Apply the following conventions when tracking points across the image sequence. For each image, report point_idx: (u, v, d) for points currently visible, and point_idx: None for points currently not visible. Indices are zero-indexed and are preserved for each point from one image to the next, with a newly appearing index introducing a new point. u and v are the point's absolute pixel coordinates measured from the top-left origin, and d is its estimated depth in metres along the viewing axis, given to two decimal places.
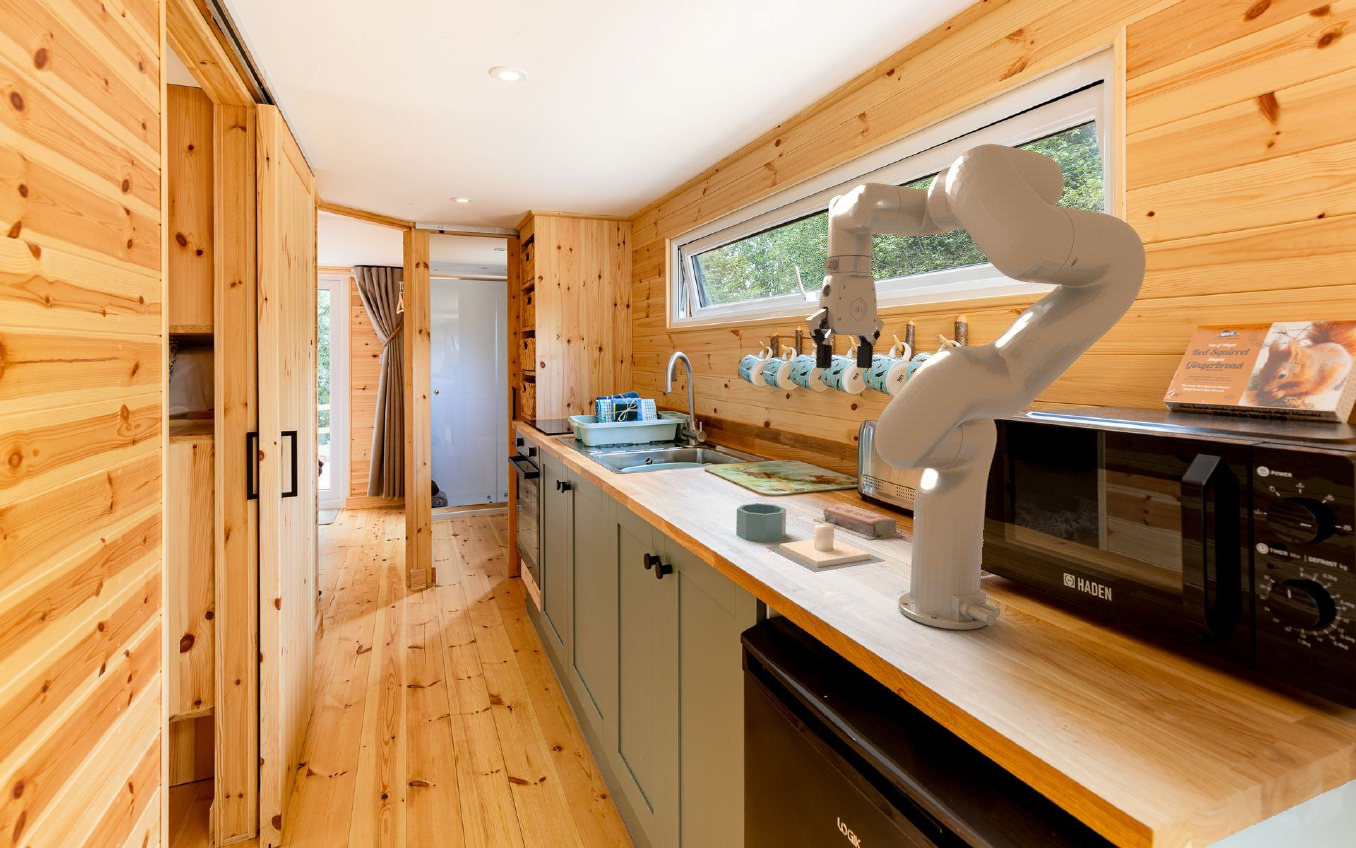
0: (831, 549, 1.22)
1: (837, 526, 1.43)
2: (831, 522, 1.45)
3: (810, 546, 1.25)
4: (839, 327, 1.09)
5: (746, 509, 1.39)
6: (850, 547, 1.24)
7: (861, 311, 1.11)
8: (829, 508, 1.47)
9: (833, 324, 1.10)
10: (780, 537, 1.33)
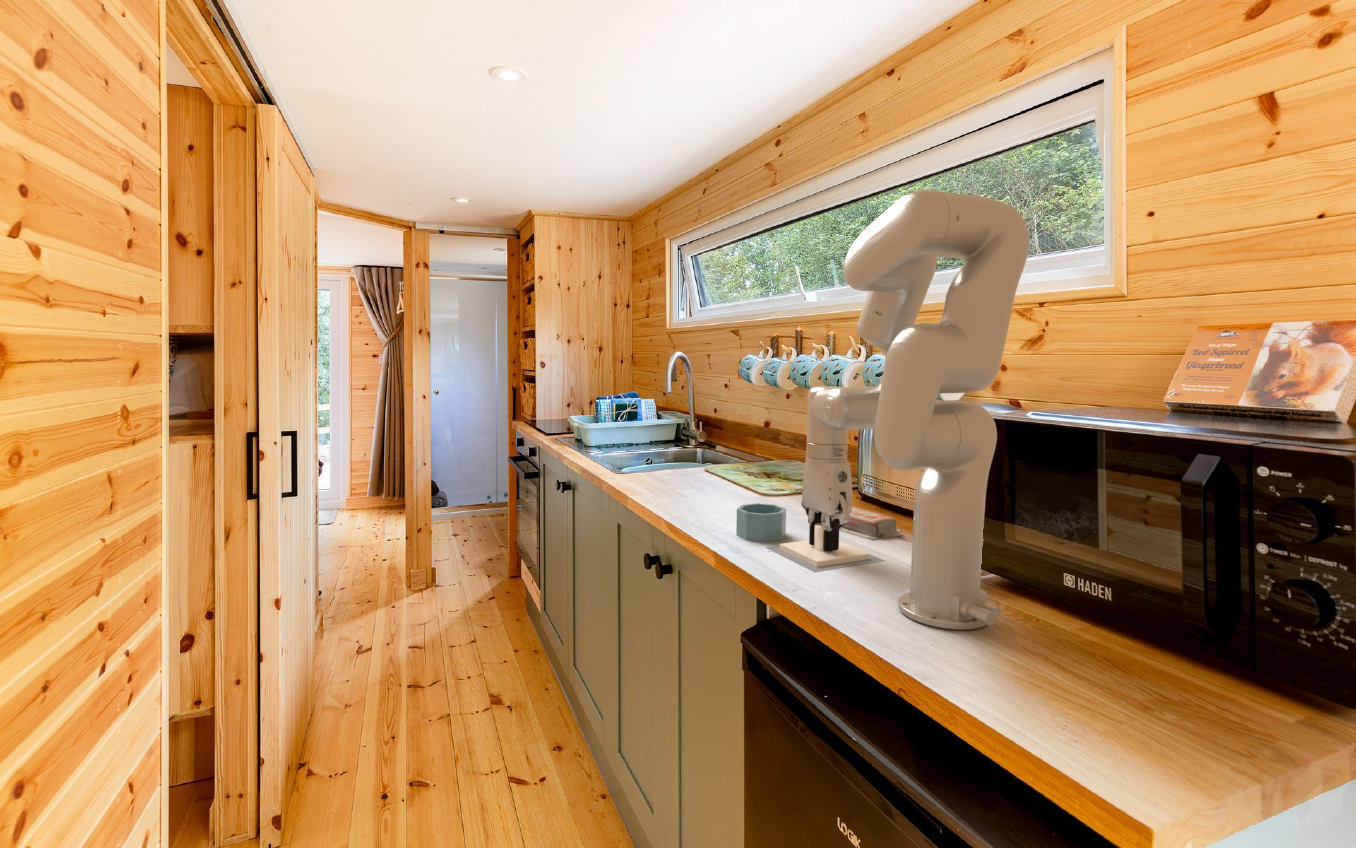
0: None
1: None
2: None
3: (810, 546, 1.25)
4: None
5: (746, 509, 1.39)
6: (850, 547, 1.24)
7: None
8: None
9: (851, 507, 1.19)
10: (780, 537, 1.33)
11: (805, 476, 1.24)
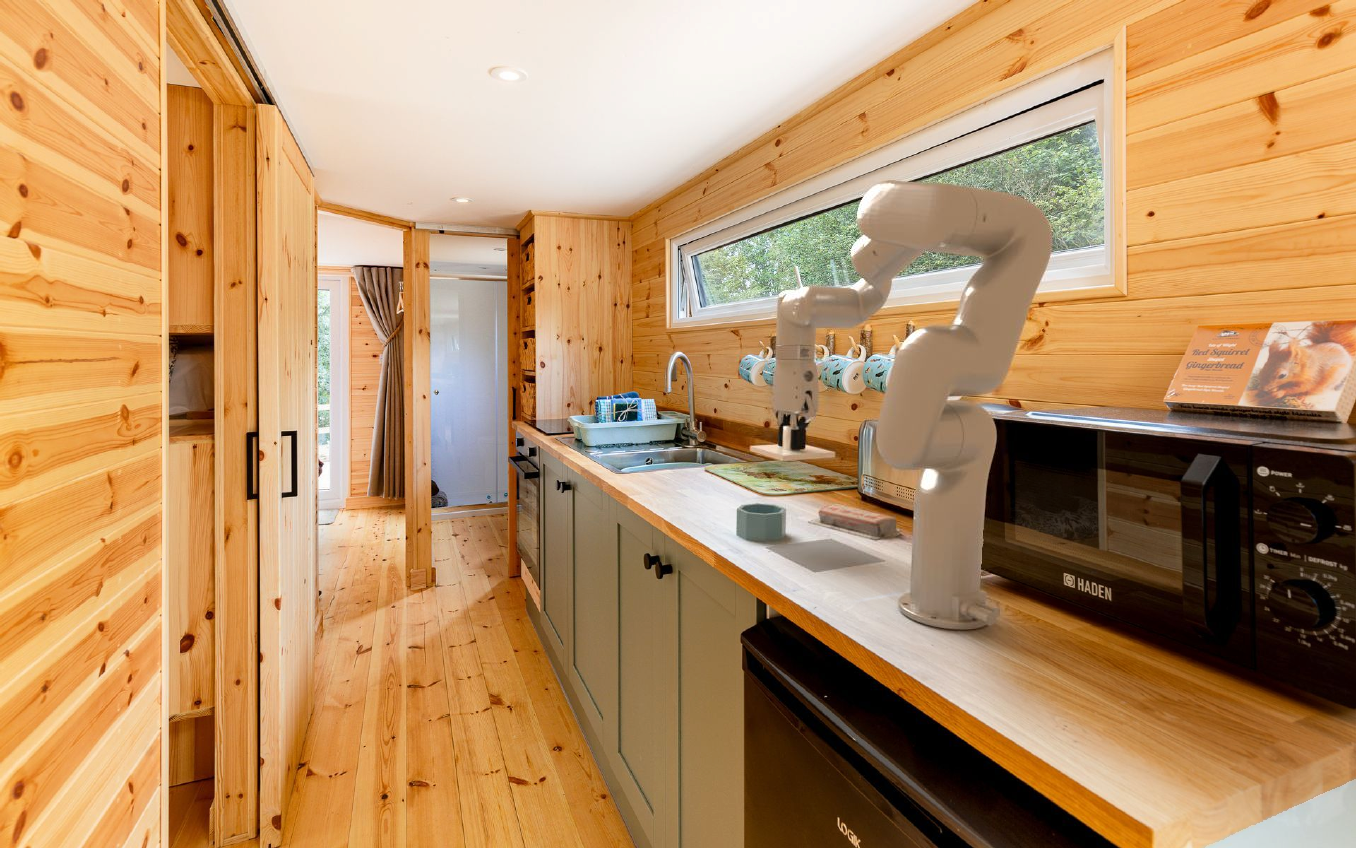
0: None
1: (836, 527, 1.41)
2: (828, 524, 1.44)
3: (779, 447, 1.30)
4: None
5: (746, 509, 1.39)
6: (817, 448, 1.29)
7: None
8: (824, 509, 1.46)
9: (817, 406, 1.24)
10: (780, 537, 1.33)
11: (775, 379, 1.29)
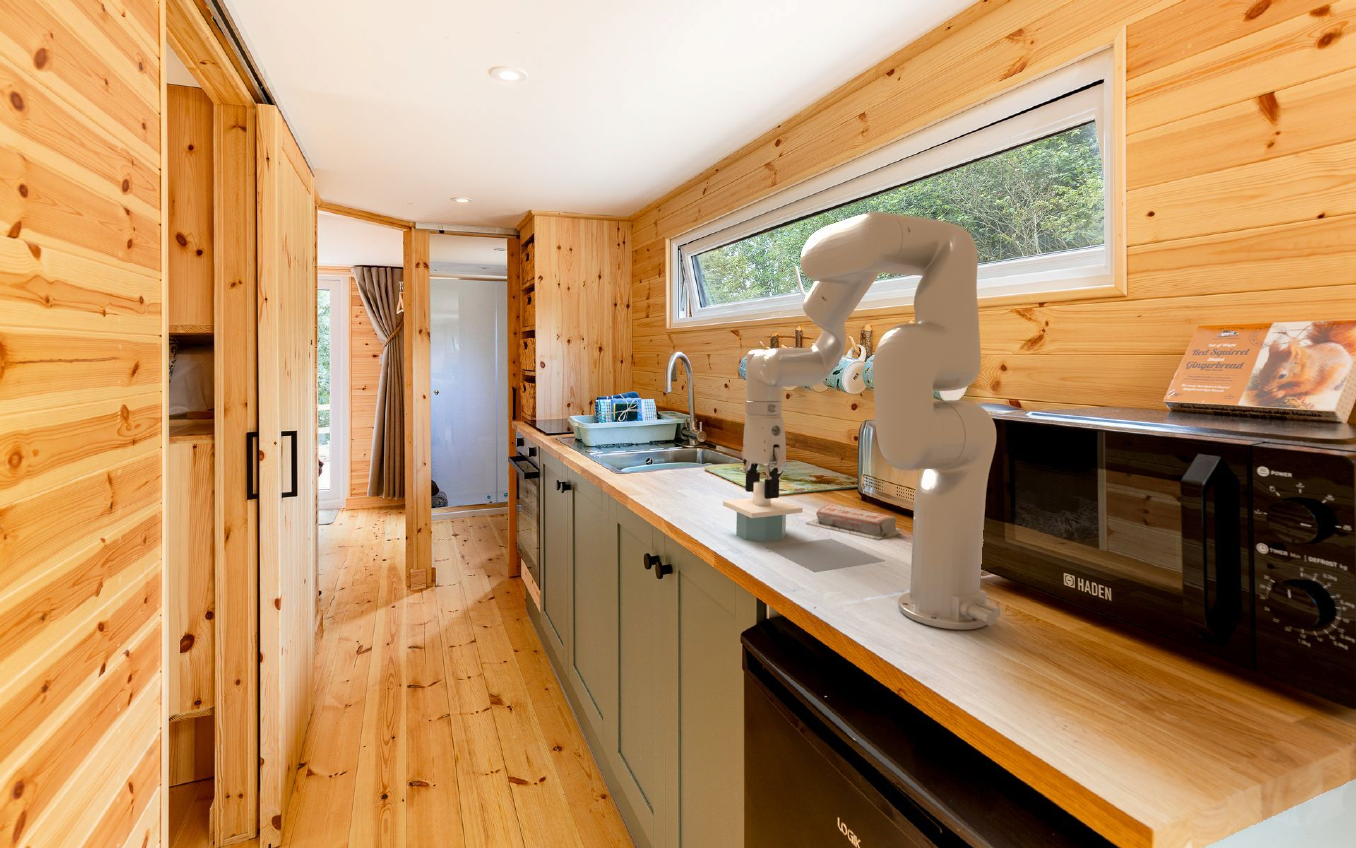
0: (768, 504, 1.34)
1: (836, 528, 1.41)
2: (827, 525, 1.43)
3: (750, 502, 1.37)
4: None
5: None
6: (786, 503, 1.37)
7: None
8: (822, 510, 1.45)
9: (784, 459, 1.31)
10: (780, 537, 1.33)
11: (745, 432, 1.36)
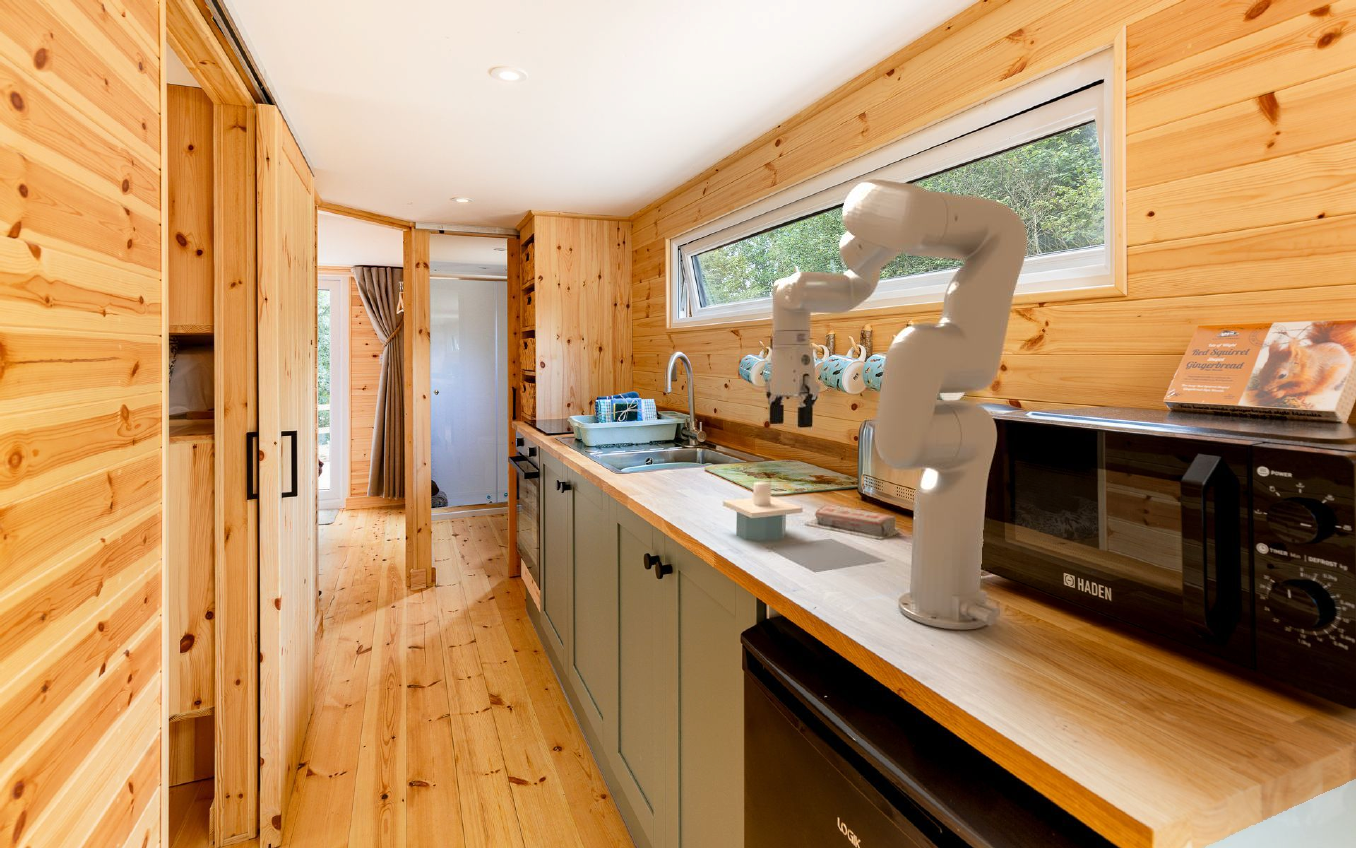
0: (768, 504, 1.34)
1: (836, 529, 1.40)
2: (826, 525, 1.43)
3: (750, 502, 1.37)
4: None
5: None
6: (786, 503, 1.37)
7: None
8: (821, 511, 1.44)
9: None
10: (780, 537, 1.33)
11: (772, 366, 1.33)
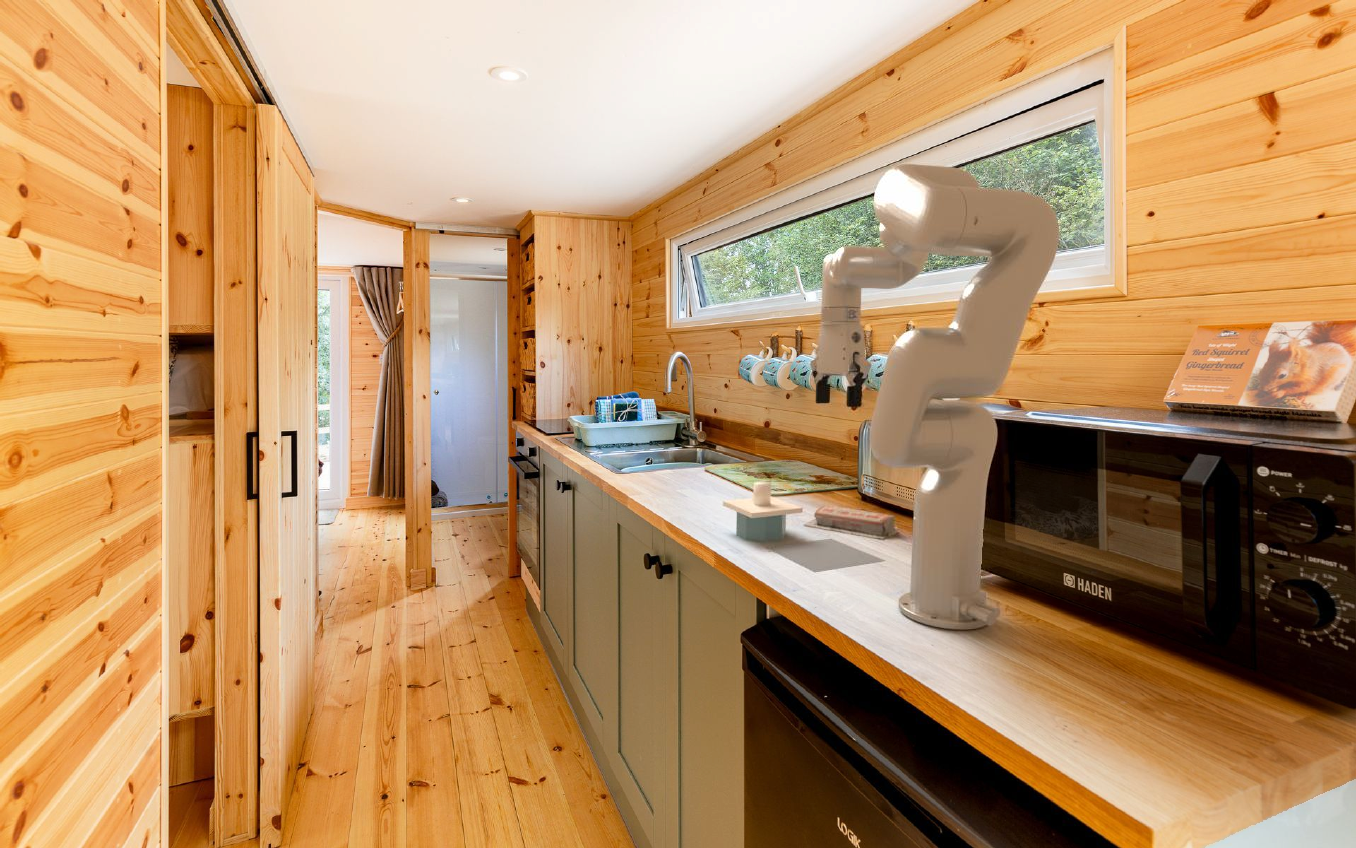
0: (768, 504, 1.34)
1: (836, 529, 1.40)
2: (826, 526, 1.42)
3: (750, 502, 1.37)
4: None
5: None
6: (786, 503, 1.37)
7: None
8: (820, 511, 1.44)
9: None
10: (780, 537, 1.33)
11: (820, 344, 1.30)
